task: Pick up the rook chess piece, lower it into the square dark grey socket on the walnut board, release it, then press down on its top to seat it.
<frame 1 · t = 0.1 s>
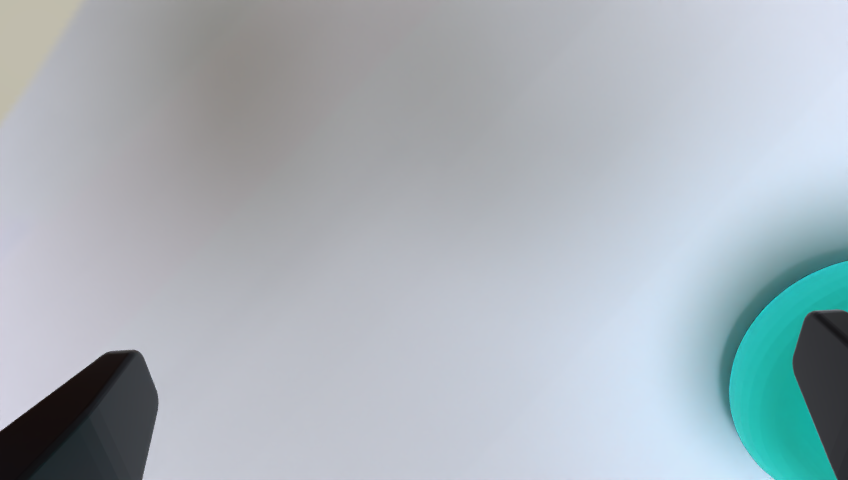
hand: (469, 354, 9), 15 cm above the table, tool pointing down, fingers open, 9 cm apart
donuts: (842, 362, 27), on the table
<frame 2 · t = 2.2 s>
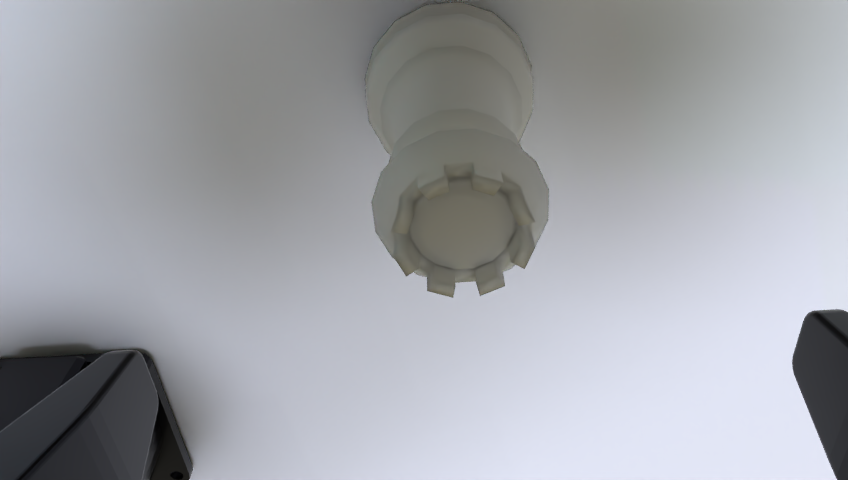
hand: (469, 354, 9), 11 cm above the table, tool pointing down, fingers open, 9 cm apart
rook chess piece: (447, 79, 19), on the table
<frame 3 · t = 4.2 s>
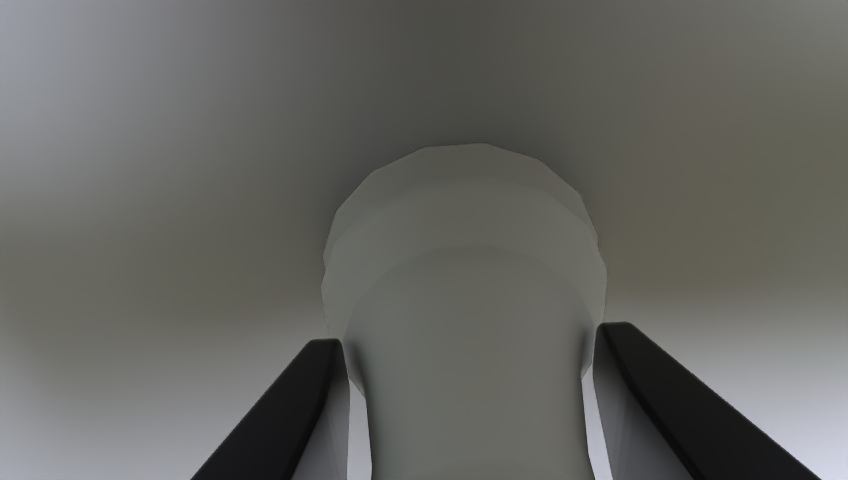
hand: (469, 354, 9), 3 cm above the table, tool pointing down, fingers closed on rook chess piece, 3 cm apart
rook chess piece: (458, 246, 11), on the table, touching gripper
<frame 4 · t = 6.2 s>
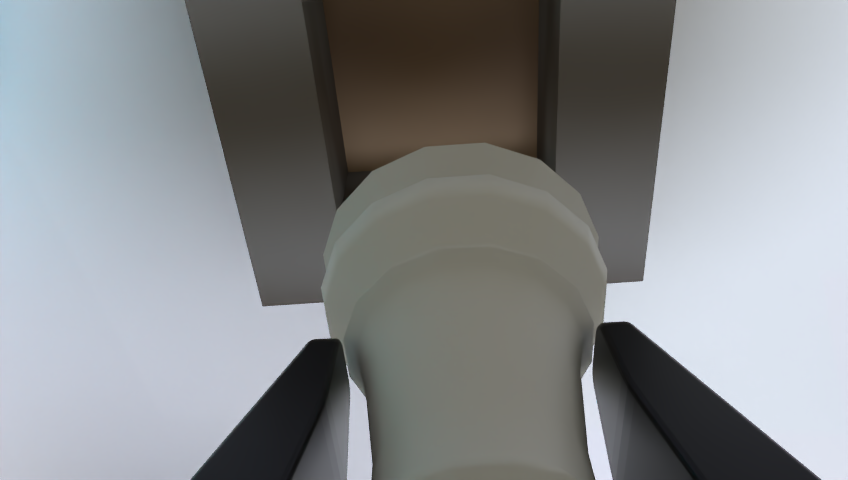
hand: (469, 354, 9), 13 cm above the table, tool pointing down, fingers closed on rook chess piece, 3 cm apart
rook chess piece: (459, 245, 12), point 10 cm above the table, touching gripper
socket board: (434, 57, 20), on the table
when the fingers open (5 cm above the table, at t = 8.2 s): rook chess piece drops 1 cm, resting on socket board.
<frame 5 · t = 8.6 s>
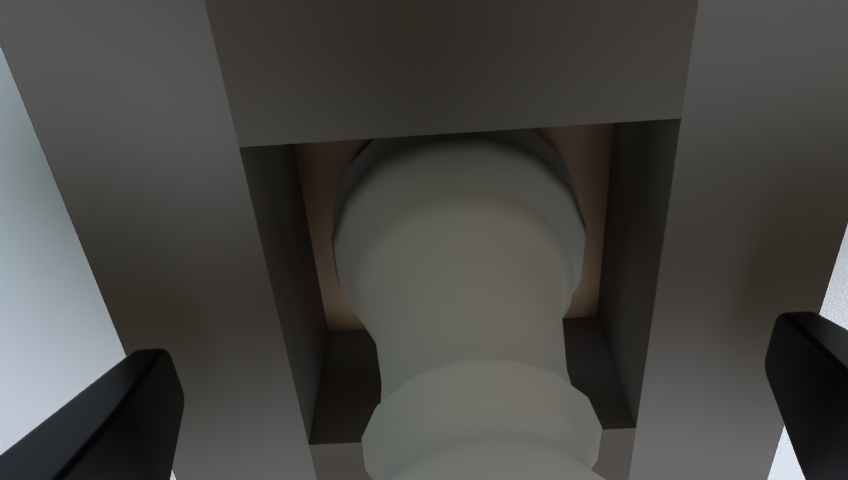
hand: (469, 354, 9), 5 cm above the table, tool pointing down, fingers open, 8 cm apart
rook chess piece: (453, 207, 13), point 1 cm above the table, touching socket board
socket board: (452, 171, 14), on the table
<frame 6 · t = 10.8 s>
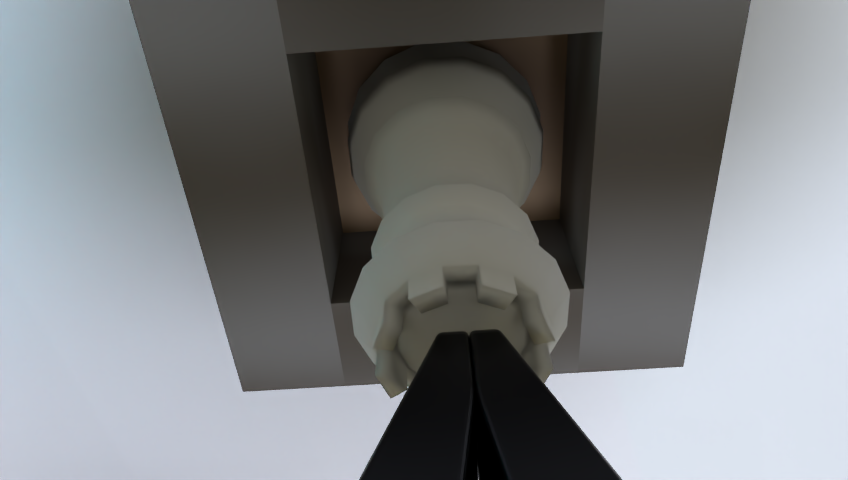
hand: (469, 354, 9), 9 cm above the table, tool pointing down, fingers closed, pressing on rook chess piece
rook chess piece: (443, 125, 16), point 1 cm above the table, touching gripper, socket board
socket board: (443, 102, 17), on the table
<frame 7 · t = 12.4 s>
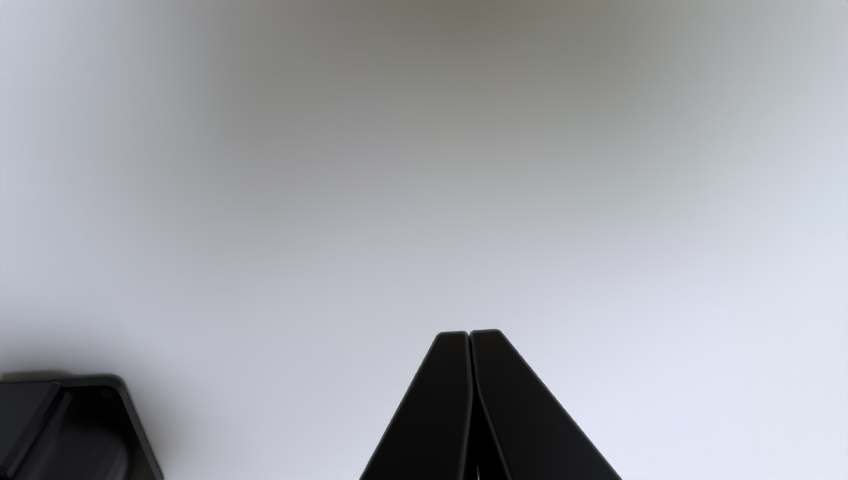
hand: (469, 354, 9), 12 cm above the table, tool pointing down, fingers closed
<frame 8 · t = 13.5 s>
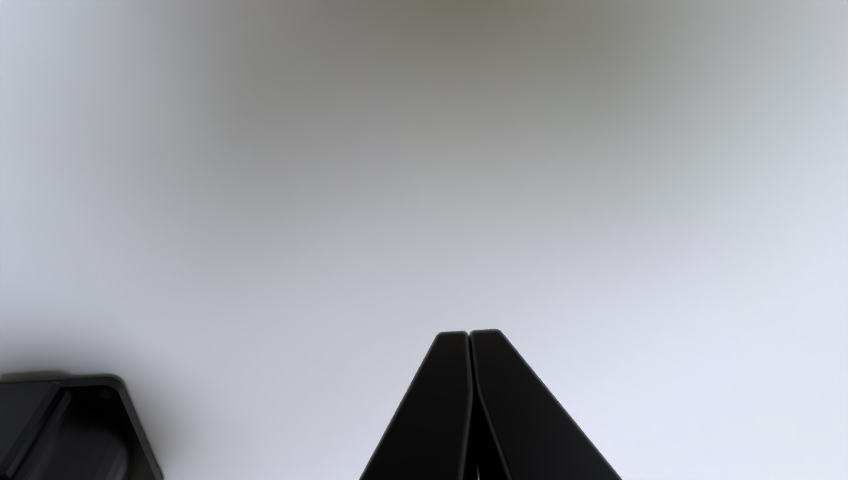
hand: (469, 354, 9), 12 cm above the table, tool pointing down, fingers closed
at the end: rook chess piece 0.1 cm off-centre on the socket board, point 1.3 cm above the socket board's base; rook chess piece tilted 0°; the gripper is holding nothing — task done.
